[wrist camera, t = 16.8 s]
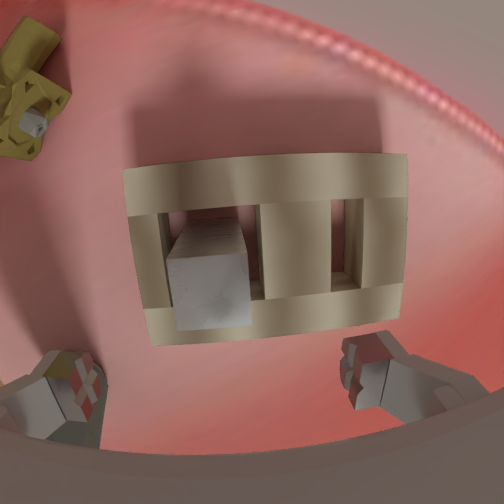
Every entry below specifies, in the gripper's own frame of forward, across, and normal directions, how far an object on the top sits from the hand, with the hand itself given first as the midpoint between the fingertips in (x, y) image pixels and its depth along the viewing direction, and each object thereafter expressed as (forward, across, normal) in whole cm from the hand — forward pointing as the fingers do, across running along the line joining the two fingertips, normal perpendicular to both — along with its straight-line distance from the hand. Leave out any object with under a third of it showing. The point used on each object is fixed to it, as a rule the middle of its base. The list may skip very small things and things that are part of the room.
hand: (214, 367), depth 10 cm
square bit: (+17, +1, +1) cm, 17 cm away
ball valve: (+17, +16, -14) cm, 27 cm away
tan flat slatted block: (+17, -4, 0) cm, 17 cm away
